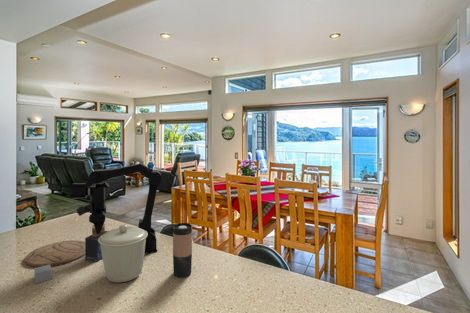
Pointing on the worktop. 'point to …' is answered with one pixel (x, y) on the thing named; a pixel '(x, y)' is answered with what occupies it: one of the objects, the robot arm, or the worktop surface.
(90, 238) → the small box
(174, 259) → the travel mug
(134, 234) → the canister
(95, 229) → the walnut block
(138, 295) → the worktop surface
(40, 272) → the slate block
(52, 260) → the trivet
